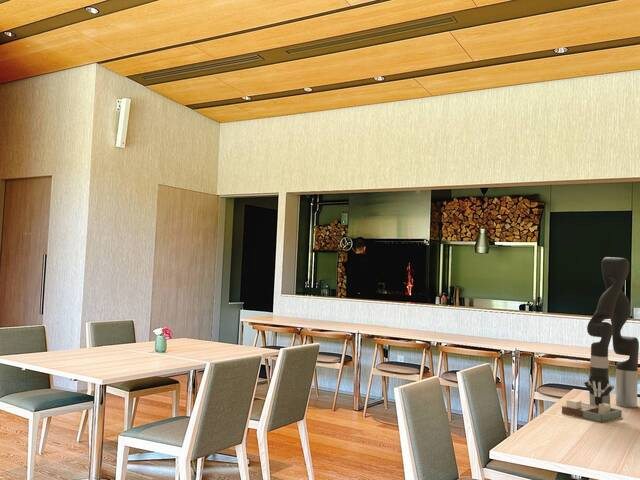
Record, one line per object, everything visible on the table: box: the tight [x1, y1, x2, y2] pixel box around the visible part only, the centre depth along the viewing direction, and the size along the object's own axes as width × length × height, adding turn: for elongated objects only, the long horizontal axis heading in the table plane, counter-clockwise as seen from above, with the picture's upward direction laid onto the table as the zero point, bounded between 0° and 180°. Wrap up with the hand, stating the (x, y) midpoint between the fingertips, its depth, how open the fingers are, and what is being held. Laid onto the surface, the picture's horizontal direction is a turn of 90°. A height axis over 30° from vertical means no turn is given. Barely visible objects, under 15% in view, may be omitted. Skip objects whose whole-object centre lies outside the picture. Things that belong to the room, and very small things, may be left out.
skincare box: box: [588, 373, 612, 408], centre depth 281 cm, size 8×7×16 cm
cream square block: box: [566, 398, 582, 409], centre depth 266 cm, size 4×4×3 cm
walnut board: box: [561, 402, 599, 419], centre depth 269 cm, size 16×10×3 cm, turn 129°
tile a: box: [598, 403, 611, 414], centre depth 265 cm, size 4×4×3 cm
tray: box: [582, 407, 623, 423], centre depth 261 cm, size 18×8×3 cm, turn 129°
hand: (598, 405), depth 268 cm, fingers closed
